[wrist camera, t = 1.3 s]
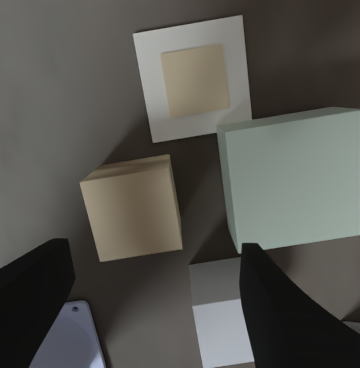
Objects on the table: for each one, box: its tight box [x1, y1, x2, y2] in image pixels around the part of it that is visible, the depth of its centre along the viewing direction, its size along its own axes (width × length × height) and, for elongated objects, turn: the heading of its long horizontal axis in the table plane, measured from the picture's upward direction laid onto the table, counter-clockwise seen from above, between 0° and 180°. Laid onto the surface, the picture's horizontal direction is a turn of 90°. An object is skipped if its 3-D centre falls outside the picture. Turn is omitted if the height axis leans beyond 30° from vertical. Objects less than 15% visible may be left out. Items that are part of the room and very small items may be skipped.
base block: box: [216, 107, 360, 254], centre depth 19 cm, size 8×8×4 cm
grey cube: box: [189, 257, 254, 368], centre depth 21 cm, size 5×5×5 cm
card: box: [133, 15, 252, 143], centre depth 19 cm, size 7×7×1 cm
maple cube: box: [80, 154, 183, 262], centre depth 19 cm, size 5×5×5 cm
